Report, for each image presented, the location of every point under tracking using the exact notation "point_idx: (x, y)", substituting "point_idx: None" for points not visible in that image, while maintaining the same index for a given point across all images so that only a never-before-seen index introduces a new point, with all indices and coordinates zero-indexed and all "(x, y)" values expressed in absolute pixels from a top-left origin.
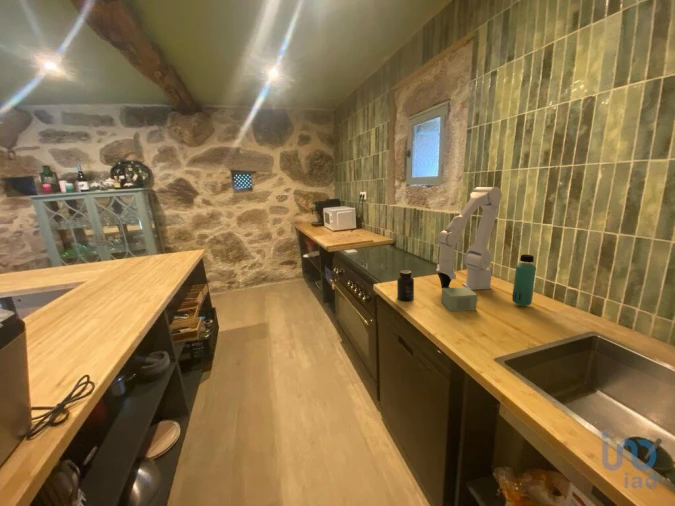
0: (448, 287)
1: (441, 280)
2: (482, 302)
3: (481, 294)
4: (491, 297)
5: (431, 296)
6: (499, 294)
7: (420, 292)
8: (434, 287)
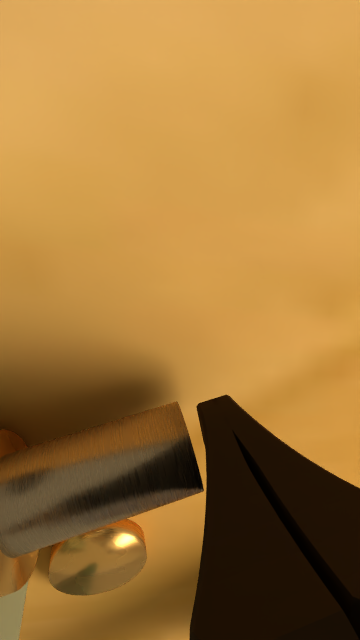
0: (131, 506)
1: (256, 499)
2: (32, 602)
3: (180, 583)
4: (134, 621)
5: (94, 245)
6: (183, 637)
7: (231, 99)
8: (353, 307)
